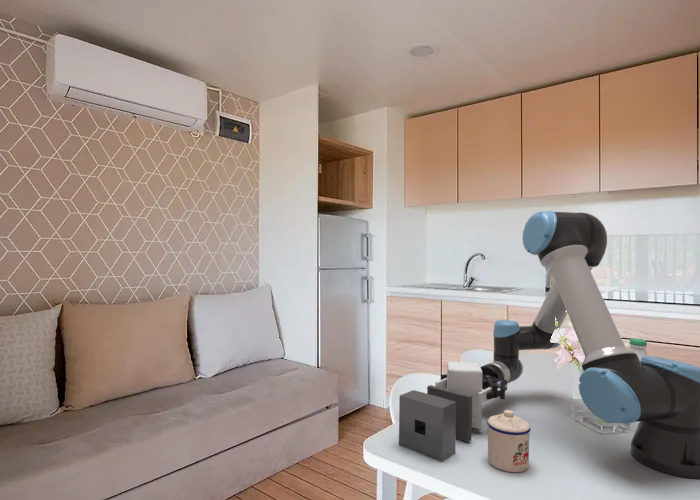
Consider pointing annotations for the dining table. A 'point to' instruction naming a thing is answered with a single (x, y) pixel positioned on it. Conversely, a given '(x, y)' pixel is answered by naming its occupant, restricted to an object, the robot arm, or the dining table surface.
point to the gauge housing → (427, 424)
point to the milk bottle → (638, 347)
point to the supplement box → (467, 385)
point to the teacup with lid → (508, 442)
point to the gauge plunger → (457, 410)
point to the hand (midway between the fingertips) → (457, 392)
